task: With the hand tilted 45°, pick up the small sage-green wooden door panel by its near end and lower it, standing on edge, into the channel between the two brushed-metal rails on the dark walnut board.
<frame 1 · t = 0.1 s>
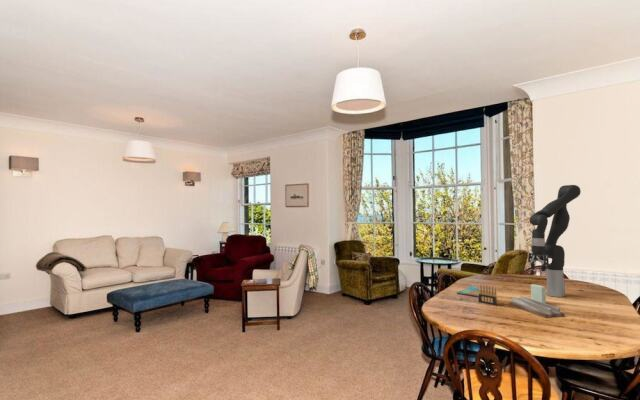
hand: (537, 270, 228), 17 cm above the table, tool pointing down, fingers open, 8 cm apart
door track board: (535, 310, 199), on the table
ammunition clip: (487, 303, 214), on the table
dish towel: (475, 294, 240), on the table
door panel: (538, 304, 211), on the table
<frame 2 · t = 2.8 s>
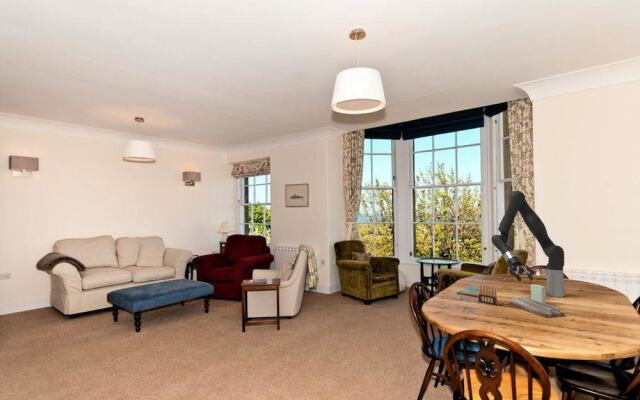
hand: (526, 280, 220), 13 cm above the table, tool tilted 45°, fingers open, 8 cm apart
nothing on the table moved.
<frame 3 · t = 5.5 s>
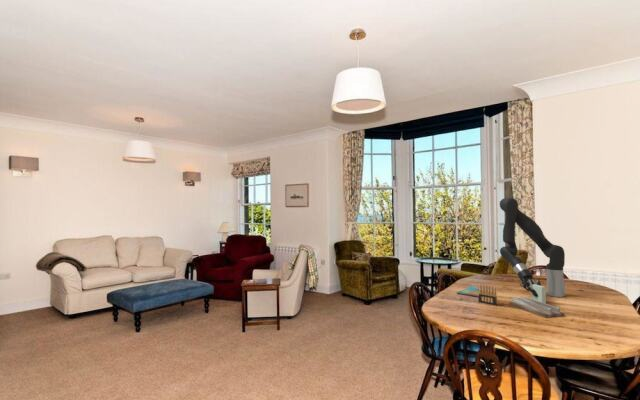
hand: (539, 295, 211), 5 cm above the table, tool tilted 45°, fingers closed on door panel, 2 cm apart
door panel: (538, 304, 211), on the table, touching gripper
everything else where it was.
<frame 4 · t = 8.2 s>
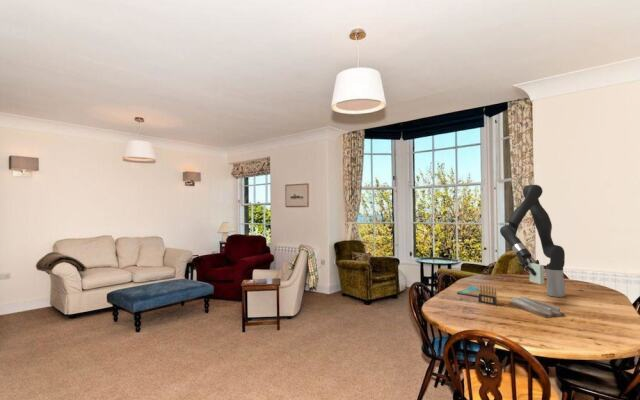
hand: (537, 274, 210), 18 cm above the table, tool tilted 45°, fingers closed on door panel, 2 cm apart
door panel: (536, 282, 210), point 13 cm above the table, touching gripper
everything else where it was.
when the fingers open (7 cm above the table, at t = 11.2 s): door panel stays where it is, resting on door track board.
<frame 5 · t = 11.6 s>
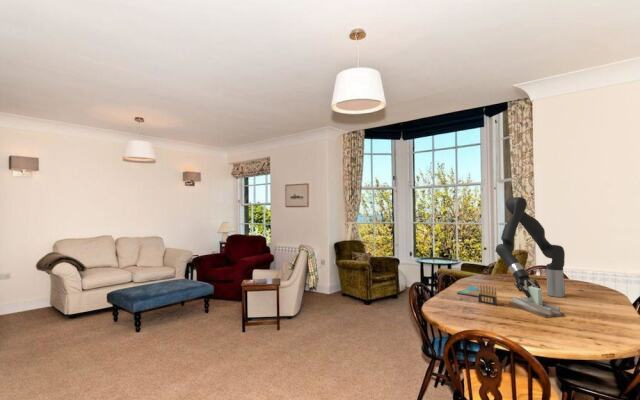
hand: (535, 296, 199), 8 cm above the table, tool tilted 45°, fingers open, 6 cm apart
door panel: (534, 307, 199), point 1 cm above the table, touching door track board
everything else where it was.
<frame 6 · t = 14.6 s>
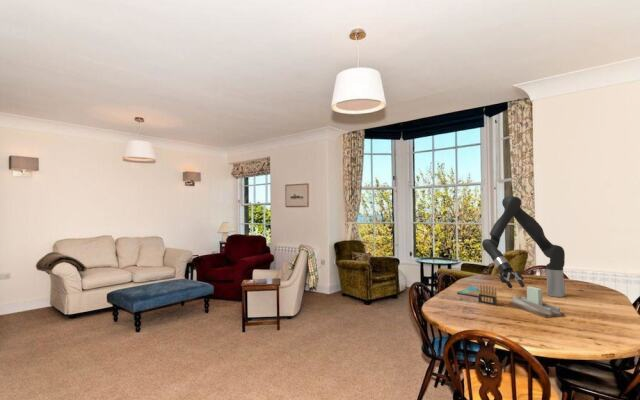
hand: (517, 287, 212), 10 cm above the table, tool tilted 45°, fingers open, 8 cm apart
nothing on the table moved.
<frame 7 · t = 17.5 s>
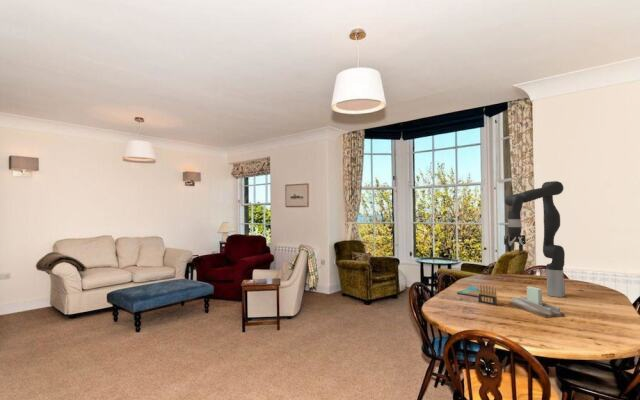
hand: (515, 251, 225), 30 cm above the table, tool pointing down, fingers open, 8 cm apart
nothing on the table moved.
at the end: door panel inside the target area on the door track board (0.2 cm from its centre), point 1.5 cm above the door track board's base; door panel tilted 0°; the gripper is holding nothing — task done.
